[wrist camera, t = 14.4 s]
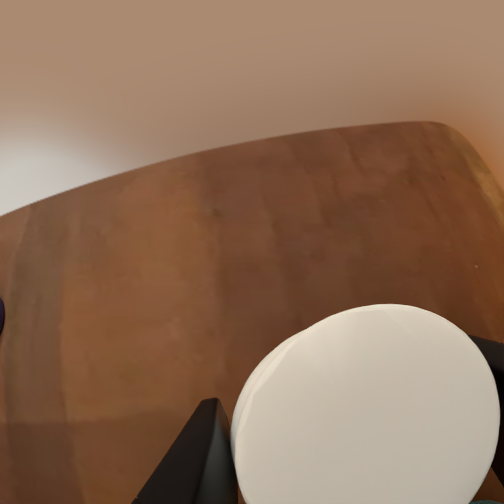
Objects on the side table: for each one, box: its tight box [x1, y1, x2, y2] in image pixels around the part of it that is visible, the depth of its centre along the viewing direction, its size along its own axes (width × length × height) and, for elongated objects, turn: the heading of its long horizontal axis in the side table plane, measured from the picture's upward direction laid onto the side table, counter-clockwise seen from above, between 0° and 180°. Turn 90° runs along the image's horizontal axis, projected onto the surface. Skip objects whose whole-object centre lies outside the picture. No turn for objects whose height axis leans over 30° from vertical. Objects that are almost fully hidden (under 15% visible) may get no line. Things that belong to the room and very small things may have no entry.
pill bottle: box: [230, 304, 500, 504], centre depth 8 cm, size 6×6×10 cm
